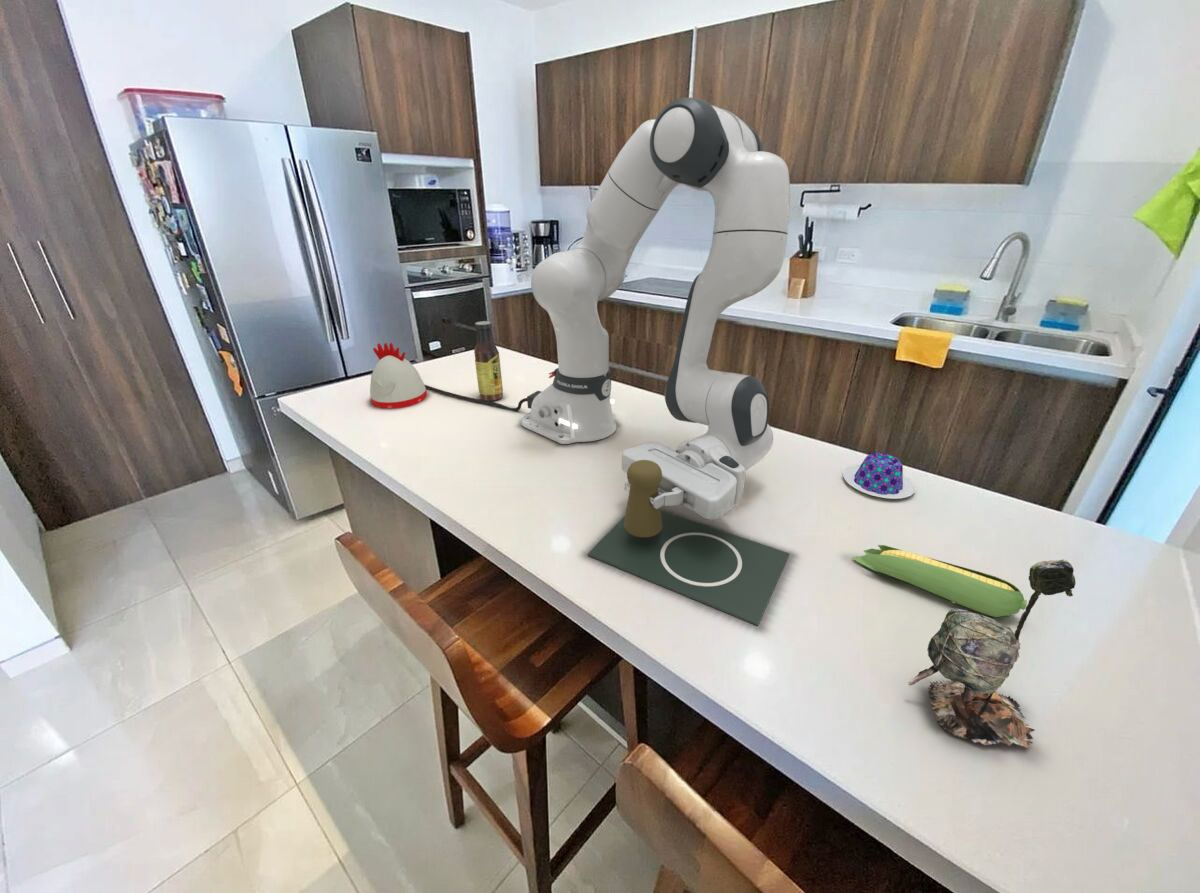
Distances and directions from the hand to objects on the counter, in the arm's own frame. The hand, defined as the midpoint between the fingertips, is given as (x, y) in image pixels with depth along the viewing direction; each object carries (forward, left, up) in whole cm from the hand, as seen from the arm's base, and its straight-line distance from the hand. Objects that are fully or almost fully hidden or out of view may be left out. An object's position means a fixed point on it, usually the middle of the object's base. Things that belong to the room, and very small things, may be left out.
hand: (639, 495), depth 75 cm
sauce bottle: (-62, +33, -9) cm, 71 cm away
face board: (+8, +1, -9) cm, 12 cm away
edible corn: (+39, +12, -9) cm, 42 cm away
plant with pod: (+43, -7, -9) cm, 45 cm away
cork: (0, +1, -6) cm, 6 cm away
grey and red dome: (-83, +20, -9) cm, 86 cm away
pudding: (+30, +38, -9) cm, 49 cm away
